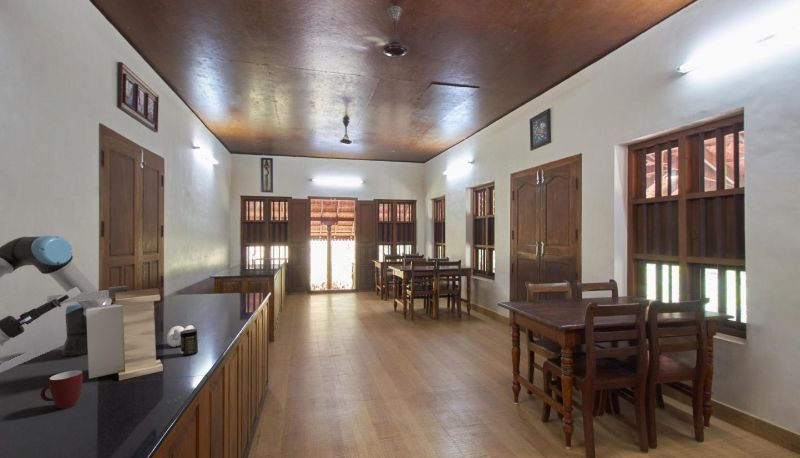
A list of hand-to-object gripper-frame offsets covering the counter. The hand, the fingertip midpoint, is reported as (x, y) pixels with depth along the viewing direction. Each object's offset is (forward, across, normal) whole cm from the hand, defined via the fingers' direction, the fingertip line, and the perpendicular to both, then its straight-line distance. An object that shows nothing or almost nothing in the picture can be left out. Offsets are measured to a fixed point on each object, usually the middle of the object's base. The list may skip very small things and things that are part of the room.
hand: (78, 290), depth 147 cm
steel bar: (+1, 0, -5) cm, 5 cm away
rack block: (-10, 0, -33) cm, 35 cm away
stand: (-1, +10, -38) cm, 40 cm away
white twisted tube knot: (+16, -20, -48) cm, 54 cm away
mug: (-20, +30, -28) cm, 45 cm away
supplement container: (+16, -1, -48) cm, 50 cm away
